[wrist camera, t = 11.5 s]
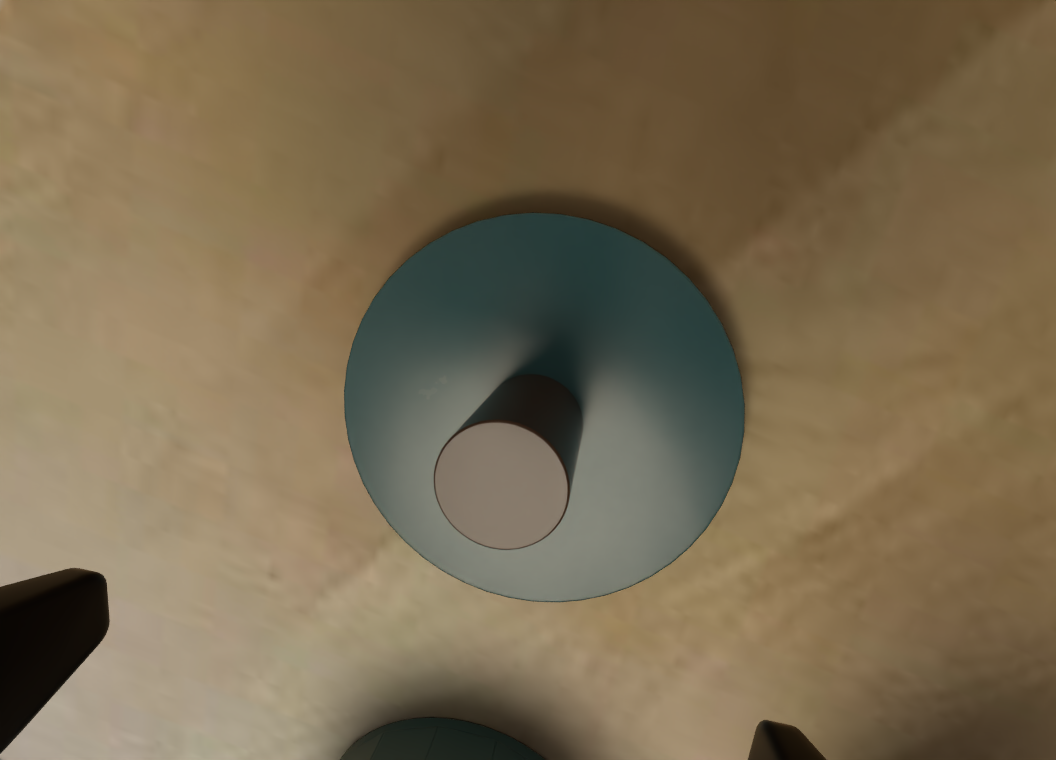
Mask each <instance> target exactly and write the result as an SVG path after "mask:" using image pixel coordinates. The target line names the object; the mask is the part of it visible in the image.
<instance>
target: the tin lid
mask: <svg viewBox="0 0 1056 760" xmlns="http://www.w3.org/2000/svg"><path fill="white" fill-rule="evenodd" d="M344 405H345V421H346V427H347V434H348V440H349V444H350V447H351V451H352V455H353V458H354V462H355V464H356V467H357V469H358V472H359V474H360V476H361V479H362V481H363V484H364V486H365V487H366V489H367V491H368V493H369V495H370V496H371V498H372V500H373V502H374V504H375V505H376V507H377V508H378V509H379V511H380V512H381V514H382V515H383V516H384V518H385V519H386V521H387V522H388V523H389V525H390V526H391V527H392V528H393V529H394V530H395V531H396V532H397V533H398V534H399V536H400V537H401V538H402V539H403V540H404V541H405V542H406V543H407V544H408V545H409V546H411V547H412V548H413V549H414V550H415V551H416V552H417V553H419V554H420V555H421V556H422V557H423V558H425V559H426V560H427V561H429V562H430V563H432V564H433V565H435V566H436V567H438V568H439V569H440V570H442V571H444V572H445V573H447V574H449V575H451V576H453V577H455V578H457V579H458V580H460V581H462V582H464V583H467V584H469V585H472V586H474V587H477V588H479V589H482V590H484V591H487V592H490V593H494V594H498V595H501V596H505V597H509V598H515V599H521V600H528V601H537V602H566V601H578V600H585V599H590V598H595V597H600V596H605V595H608V594H611V593H614V592H617V591H620V590H623V589H626V588H629V587H631V586H633V585H635V584H637V583H639V582H641V581H643V580H645V579H647V578H649V577H651V576H653V575H654V574H656V573H657V572H659V571H660V570H662V569H663V568H665V567H666V566H668V565H669V564H671V563H672V562H673V561H675V560H676V559H677V558H678V557H679V556H680V555H681V554H683V553H684V552H685V551H686V550H687V549H688V548H689V547H691V545H692V544H693V543H694V542H695V541H696V540H697V539H698V537H699V536H700V535H701V534H702V533H703V532H704V531H705V530H706V528H707V527H708V526H709V524H710V523H711V521H712V520H713V518H714V517H715V515H716V513H717V512H718V510H719V509H720V507H721V506H722V504H723V502H724V499H725V497H726V495H727V493H728V491H729V489H730V487H731V485H732V482H733V479H734V476H735V473H736V470H737V466H738V463H739V460H740V456H741V449H742V443H743V437H744V419H745V403H744V395H743V388H742V380H741V375H740V371H739V368H738V364H737V360H736V357H735V353H734V350H733V348H732V345H731V343H730V341H729V339H728V336H727V334H726V332H725V329H724V327H723V325H722V323H721V322H720V320H719V318H718V317H717V315H716V313H715V312H714V310H713V309H712V307H711V305H710V304H709V302H708V301H707V299H706V298H705V297H704V296H703V294H702V293H701V292H700V291H699V290H698V288H697V287H696V286H695V285H694V284H693V282H692V281H691V280H690V279H689V278H688V277H687V276H686V275H685V274H684V273H683V272H682V271H681V270H680V269H678V268H677V267H676V266H675V265H674V264H673V263H672V262H671V261H670V260H669V259H667V258H666V257H665V256H663V255H662V254H660V253H659V252H657V251H656V250H654V249H653V248H652V247H650V246H649V245H647V244H646V243H644V242H643V241H641V240H639V239H637V238H635V237H633V236H631V235H629V234H627V233H625V232H623V231H621V230H619V229H617V228H614V227H611V226H608V225H605V224H602V223H599V222H596V221H593V220H590V219H585V218H580V217H575V216H569V215H564V214H553V213H534V212H532V213H520V214H509V215H502V216H497V217H493V218H489V219H484V220H480V221H476V222H474V223H471V224H468V225H466V226H463V227H461V228H458V229H455V230H453V231H451V232H449V233H447V234H445V235H444V236H442V237H440V238H438V239H436V240H434V241H433V242H431V243H429V244H428V245H426V246H425V247H424V248H422V249H421V250H420V251H418V252H417V253H416V254H414V255H413V256H412V257H410V258H409V259H408V260H407V261H406V262H405V263H404V264H403V265H402V266H401V267H400V268H399V269H398V270H397V271H396V272H395V273H394V274H393V275H392V276H391V277H390V278H389V279H388V280H387V282H386V283H385V284H384V286H383V287H382V288H381V289H380V291H379V292H378V293H377V295H376V296H375V297H374V299H373V301H372V303H371V304H370V306H369V308H368V310H367V312H366V313H365V315H364V317H363V319H362V321H361V323H360V326H359V328H358V331H357V333H356V336H355V339H354V341H353V344H352V348H351V352H350V356H349V360H348V364H347V371H346V380H345V389H344Z"/></svg>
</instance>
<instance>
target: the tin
mask: <svg viewBox="0 0 1056 760" xmlns="http://www.w3.org/2000/svg"><path fill="white" fill-rule="evenodd" d="M340 760H545V759H543V758H542V757H541V756H540V755H538V754H537V753H535V752H534V751H533V750H531V749H530V748H528V747H527V746H525V745H524V744H522V743H520V742H518V741H516V740H515V739H513V738H511V737H509V736H507V735H505V734H502V733H500V732H498V731H495V730H493V729H490V728H487V727H484V726H481V725H478V724H474V723H471V722H466V721H460V720H455V719H446V718H415V719H409V720H403V721H398V722H395V723H392V724H388V725H385V726H382V727H380V728H378V729H376V730H374V731H372V732H370V733H368V734H367V735H365V736H364V737H362V738H361V739H359V740H358V741H357V742H356V743H354V744H353V745H352V746H351V747H350V748H349V749H348V750H347V751H346V752H345V754H344V755H343V756H342V758H341V759H340Z"/></svg>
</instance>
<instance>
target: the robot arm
mask: <svg viewBox="0 0 1056 760" xmlns="http://www.w3.org/2000/svg"><path fill="white" fill-rule="evenodd" d="M108 627H109V607H108V594H107V583H106V579H105V578H104V576H103V575H102V574H100V573H98V572H94V571H89V570H85V569H80V568H70V569H65V570H62V571H58V572H54V573H50V574H47V575H43V576H39V577H35V578H32V579H28V580H24V581H20V582H17V583H13V584H9V585H5V586H2V587H0V753H1V752H2V751H3V750H4V749H5V748H6V747H7V746H8V745H9V744H10V743H11V742H12V741H13V740H14V739H15V738H16V736H17V735H18V734H19V733H20V732H21V731H22V730H23V729H24V728H25V727H26V726H27V724H28V723H29V722H30V721H31V720H32V719H33V718H34V717H35V715H36V714H37V713H38V712H39V711H40V710H41V709H42V708H43V706H44V705H45V704H46V703H47V702H48V701H49V700H50V699H51V698H52V696H53V695H54V694H55V693H56V692H57V691H58V690H59V689H60V687H61V686H62V685H63V684H64V683H65V682H66V681H67V680H68V678H69V677H70V676H71V675H72V674H73V673H74V672H75V671H76V670H77V668H78V667H79V666H80V665H81V664H82V663H83V662H84V661H85V659H86V658H87V657H88V656H89V655H90V654H91V653H92V652H93V650H94V649H95V648H96V647H97V646H98V645H99V644H100V642H101V641H102V640H103V638H104V637H105V635H106V633H107V630H108ZM748 760H826V759H825V758H824V757H823V755H822V754H821V753H820V752H819V751H818V750H817V749H816V748H815V747H814V745H813V744H812V743H811V742H810V741H809V740H808V739H807V738H806V737H805V735H804V734H803V733H802V732H801V731H800V730H799V729H797V728H796V727H794V726H791V725H787V724H782V723H778V722H773V721H769V720H763V721H761V722H760V723H759V724H758V726H757V728H756V731H755V735H754V739H753V743H752V746H751V750H750V754H749V757H748Z"/></svg>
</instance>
